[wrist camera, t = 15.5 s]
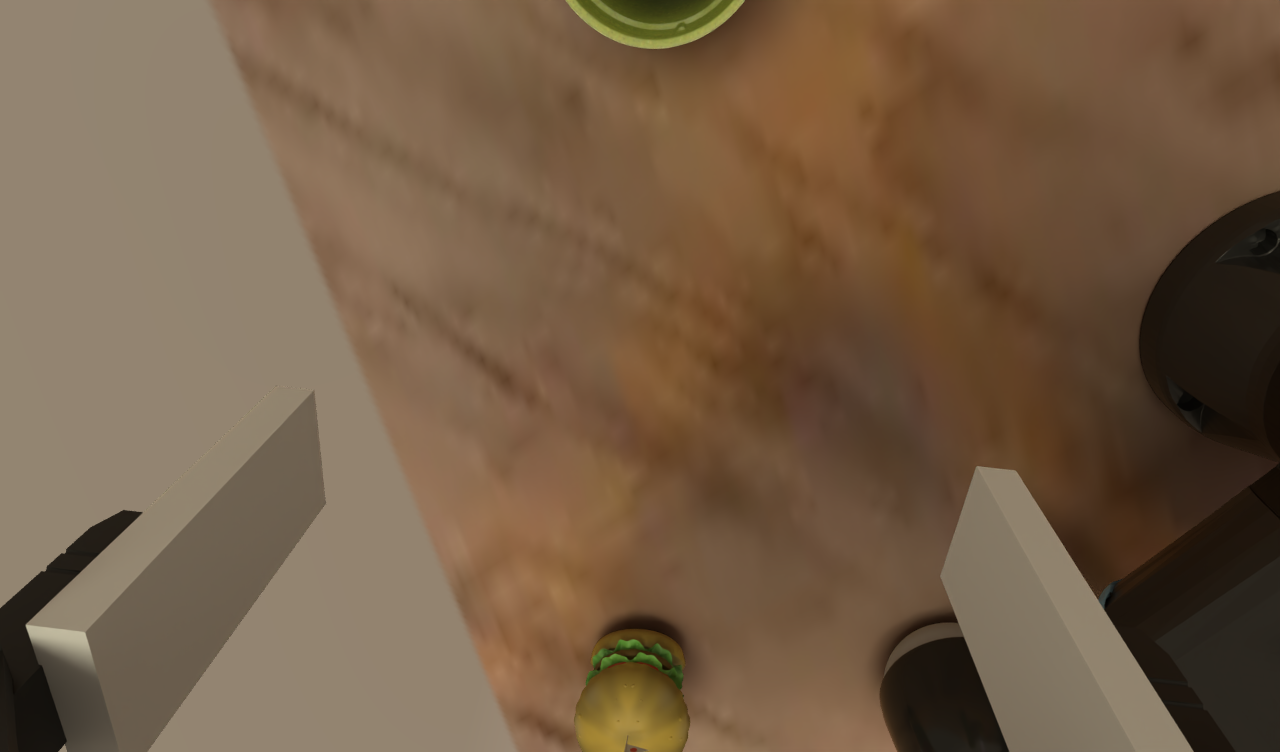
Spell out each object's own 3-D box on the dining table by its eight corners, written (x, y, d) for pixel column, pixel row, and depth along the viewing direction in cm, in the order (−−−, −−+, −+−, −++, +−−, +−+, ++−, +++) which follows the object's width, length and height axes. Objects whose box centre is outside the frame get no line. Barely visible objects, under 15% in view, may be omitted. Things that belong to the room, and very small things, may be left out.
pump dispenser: (1043, 664, 59) (1145, 871, 45) (916, 722, 62) (976, 931, 48) (971, 574, 56) (1057, 768, 42) (842, 640, 59) (883, 839, 45)
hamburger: (592, 671, 62) (568, 816, 51) (585, 598, 59) (558, 736, 48) (692, 673, 61) (689, 820, 51) (691, 600, 58) (688, 740, 48)
